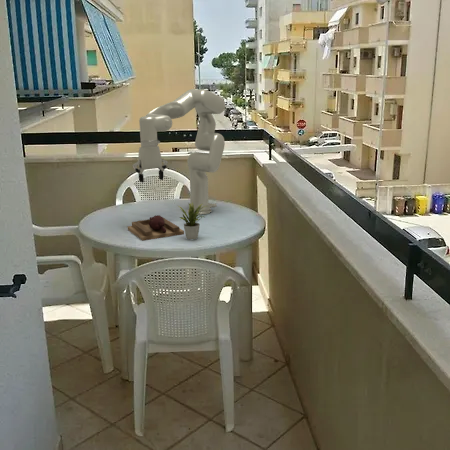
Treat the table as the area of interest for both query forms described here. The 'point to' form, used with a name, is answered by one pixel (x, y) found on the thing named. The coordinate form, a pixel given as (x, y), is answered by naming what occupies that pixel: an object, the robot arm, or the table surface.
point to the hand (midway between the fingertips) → (151, 180)
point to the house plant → (191, 222)
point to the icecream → (157, 223)
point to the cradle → (147, 233)
